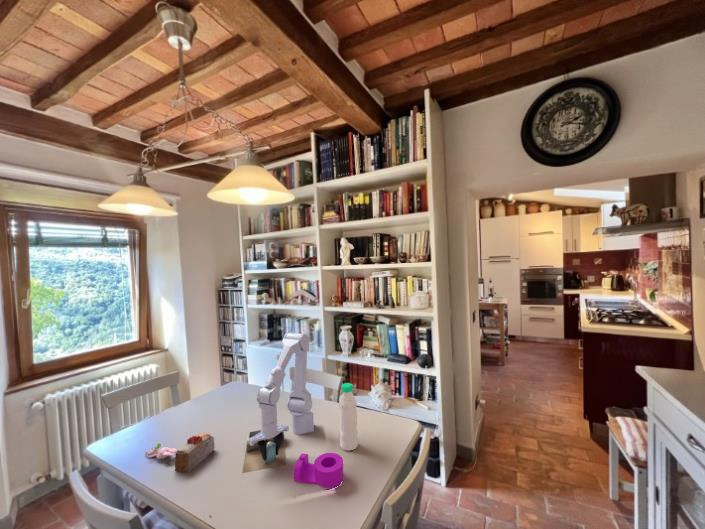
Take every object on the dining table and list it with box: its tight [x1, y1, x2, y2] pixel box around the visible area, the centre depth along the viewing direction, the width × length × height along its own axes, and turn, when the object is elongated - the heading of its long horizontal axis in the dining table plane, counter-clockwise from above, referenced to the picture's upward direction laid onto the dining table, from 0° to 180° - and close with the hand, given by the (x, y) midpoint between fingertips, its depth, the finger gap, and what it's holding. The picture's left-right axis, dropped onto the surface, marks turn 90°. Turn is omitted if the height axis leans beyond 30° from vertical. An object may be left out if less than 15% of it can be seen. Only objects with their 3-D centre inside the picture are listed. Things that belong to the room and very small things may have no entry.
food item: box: [174, 431, 216, 473], centre depth 112 cm, size 14×8×10 cm, turn 169°
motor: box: [246, 429, 285, 452], centre depth 120 cm, size 14×7×6 cm, turn 105°
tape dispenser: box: [293, 452, 344, 490], centre depth 101 cm, size 16×10×6 cm, turn 78°
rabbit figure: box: [144, 442, 178, 460], centre depth 115 cm, size 6×6×15 cm
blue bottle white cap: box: [265, 441, 276, 464], centre depth 110 cm, size 4×4×6 cm
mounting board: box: [242, 437, 287, 474], centre depth 115 cm, size 15×20×1 cm
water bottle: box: [338, 382, 359, 451], centre depth 119 cm, size 7×7×25 cm
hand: (270, 456), depth 110 cm, fingers closed on blue bottle white cap, 4 cm apart
